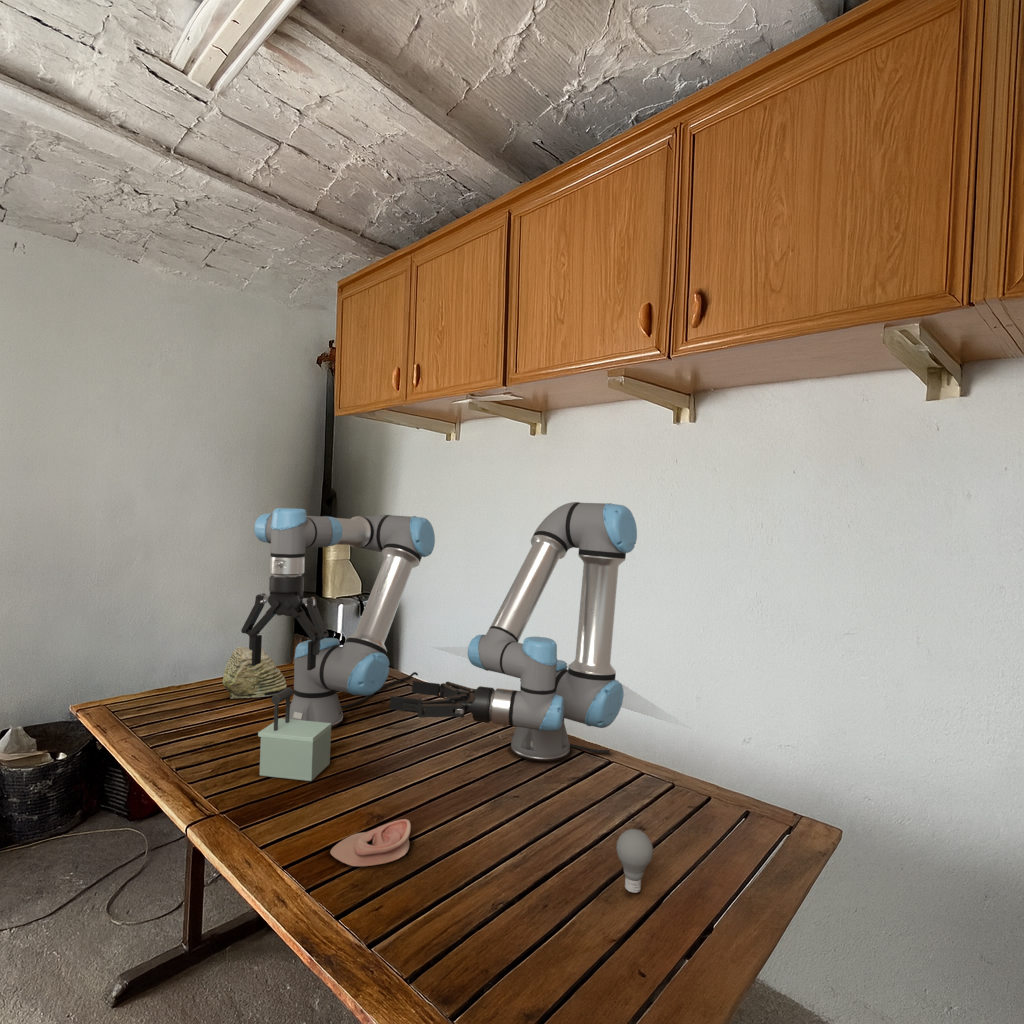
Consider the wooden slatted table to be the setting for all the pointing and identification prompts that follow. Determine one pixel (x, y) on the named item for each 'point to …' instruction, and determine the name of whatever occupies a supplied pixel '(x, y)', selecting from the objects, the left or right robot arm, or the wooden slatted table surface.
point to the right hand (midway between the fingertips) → (402, 694)
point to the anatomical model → (374, 845)
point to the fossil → (252, 675)
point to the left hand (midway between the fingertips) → (283, 666)
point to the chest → (294, 757)
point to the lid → (292, 723)
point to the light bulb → (634, 857)
